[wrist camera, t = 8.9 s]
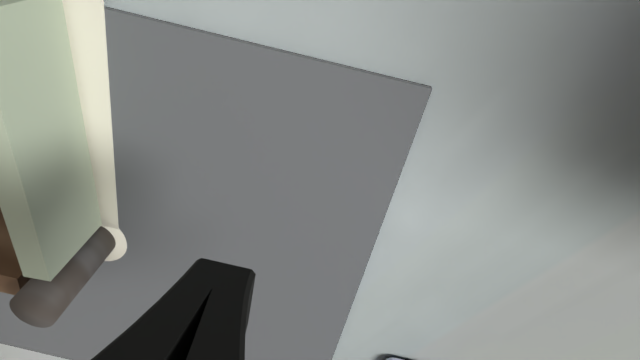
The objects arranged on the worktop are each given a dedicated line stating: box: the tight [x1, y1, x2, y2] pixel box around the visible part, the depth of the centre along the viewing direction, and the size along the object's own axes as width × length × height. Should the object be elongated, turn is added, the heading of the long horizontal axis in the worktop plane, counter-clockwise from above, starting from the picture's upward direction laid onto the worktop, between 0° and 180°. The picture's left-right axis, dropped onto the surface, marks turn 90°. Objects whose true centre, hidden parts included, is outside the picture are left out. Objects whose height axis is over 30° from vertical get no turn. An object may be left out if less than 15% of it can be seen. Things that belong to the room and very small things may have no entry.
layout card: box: [0, 0, 432, 360], centre depth 22 cm, size 25×27×1 cm
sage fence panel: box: [0, 0, 102, 282], centre depth 17 cm, size 1×11×4 cm, turn 172°
